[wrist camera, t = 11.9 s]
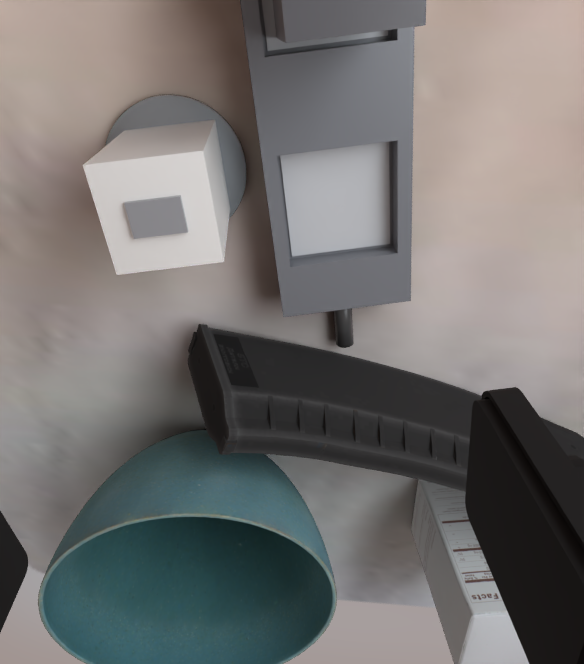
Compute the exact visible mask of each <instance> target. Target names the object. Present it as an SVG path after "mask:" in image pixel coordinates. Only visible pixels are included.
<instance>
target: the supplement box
mask: <svg viewBox="0 0 584 664" xmlns="http://www.w3.org/2000/svg"><path fill="white" fill-rule="evenodd" d="M465 494H466V492H464V491H460V490H457V489H453V488H450V487H446V486H442V485H439V484H435V483H431V482H428V481H424V480H420V479H418V485H417V492H416V499H415V506H414V513H413V520H412V527H411V531H412V534H413V537H414V540H415V544H416V547H417V550H418V553H419V556H420V559H421V562H422V565H423V568H424V572H425V575H426V578H427V581H428V584H429V587H430V590H431V593H432V596H433V600H434V603H435V606H436V609H437V612H438V615H439V618H440V621H441V624H442V627H443V631H444V634H445V637H446V640H447V643H448V646H449V649H450V652H451V655H452V658H453V661H454V664H529V662H528V659H527V657H526V655H525V652H524V650H523V648H522V645H521V643H520V640H519V638H518V636H517V633H516V631H515V628H514V626H513V624H512V621H511V619H510V617H509V614H508V612H507V609H506V607H505V605H504V602H503V600H502V597H501V595H500V593H499V590H498V588H497V586H496V583H495V581H494V578H493V576H492V574H491V571H490V569H489V566H488V564H487V562H486V559H485V557H484V555H483V552H482V550H481V547H480V545H479V543H478V540H477V538H476V535H475V533H474V531H473V528H472V526H471V524H470V521H469V518H468V515H467V511H466V506H465Z"/></svg>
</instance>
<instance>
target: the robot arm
mask: <svg viewBox="0 0 584 664" xmlns="http://www.w3.org/2000/svg"><path fill="white" fill-rule="evenodd" d="M465 506H466V511H467V515H468V518H469V521H470V524H471V526H472V528H473V531H474V533H475V535H476V538H477V540H478V543H479V545H480V547H481V550H482V552H483V555H484V557H485V559H486V562H487V564H488V566H489V569H490V571H491V574H492V576H493V578H494V581H495V583H496V586H497V588H498V590H499V593H500V595H501V597H502V600H503V602H504V605H505V607H506V609H507V612H508V614H509V617H510V619H511V621H512V624H513V626H514V628H515V631H516V633H517V636H518V638H519V640H520V643H521V645H522V648H523V650H524V652H525V655H526V657H527V659H528V662H529V664H584V460H583V459H582V458H580V457H578V456H576V455H568V456H567V455H566V453H565V452H564V450H563V449H562V448H561V446H560V445H559V443H558V442H557V441H556V439H555V438H554V436H553V435H552V434H551V432H550V431H549V429H548V428H547V427H546V425H545V424H544V422H543V421H542V420H541V418H540V417H539V415H538V414H537V413H536V411H535V410H534V408H533V407H532V406H531V404H530V403H529V401H528V400H527V399H526V397H525V396H524V394H523V393H522V392H521V391H520V390H519V389H518V388H516V387H514V388H506V389H498V390H490V391H485V392H483V394H482V398H481V400H475V401H474V402H473V406H472V417H471V430H470V443H469V456H468V468H467V481H466V494H465ZM27 567H28V557H27V554H26V552H25V550H24V548H23V547H22V545H21V544H20V542H19V540H18V539H17V537H16V536H15V534H14V532H13V531H12V529H11V527H10V526H9V524H8V523H7V521H6V519H5V518H4V516H3V514H2V513H1V511H0V632H1V630H2V627H3V625H4V623H5V620H6V618H7V616H8V613H9V611H10V609H11V607H12V604H13V602H14V600H15V598H16V595H17V593H18V591H19V588H20V586H21V584H22V582H23V579H24V577H25V574H26V572H27Z"/></svg>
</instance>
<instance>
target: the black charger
mask: <svg viewBox="0 0 584 664" xmlns="http://www.w3.org/2000/svg"><path fill="white" fill-rule="evenodd" d="M272 1H273V10H274V19H275V28H276V37H277V39H279V40H281V41H283V42H285V43H291V42H299V41H307V40H315V39H322V38H330V37H338V36H346V35H353V34H361V33H369V32H377V31H384V30H392V29H400V28H408V27H415V26H423V25H426V0H272Z"/></svg>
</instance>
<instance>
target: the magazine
mask: <svg viewBox="0 0 584 664" xmlns="http://www.w3.org/2000/svg"><path fill="white" fill-rule="evenodd" d="M189 354H190V355H189V358H188V365H189V369H190V372H191V376H192V380H193V383H194V387H195V390H196V394H197V397H198V401H199V404H200V408H201V412H202V415H203V419H204V422H205V426H206V429H207V433H208V435H209V437H210V438H212V439H213V440H214V441H215V442H216V445H217V448H218V451H219V454H221V455H230V454H231V453H261V454H275V455H287V456H297V457H304V458H312V459H319V460H324V461H329V462H334V463H339V464H344V465H350V466H355V467H361V468H366V469H372V470H377V471H383V472H388V473H393V474H398V475H403V476H407V477H411V478H415V479H420V480H424V481H428V482H431V483H435V484H439V485H442V486H446V487H450V488H453V489H457V490H460V491H464V492H466V481H467V468H468V456H469V443H470V430H471V417H472V406H473V402H474V401H475V400H481V398H482V396H480V395H477V394H475V393H472V392H469V391H466V390H464V389H461V388H458V387H455V386H452V385H449V384H446V383H443V382H440V381H437V380H434V379H431V378H427V377H424V376H421V375H417V374H414V373H411V372H407V371H404V370H400V369H396V368H393V367H389V366H386V365H382V364H378V363H374V362H370V361H366V360H363V359H359V358H355V357H350V356H346V355H342V354H337V353H333V352H329V351H324V350H319V349H315V348H310V347H306V346H301V345H296V344H290V343H285V342H280V341H275V340H270V339H264V338H259V337H254V336H249V335H244V334H239V333H233V332H228V331H223V330H218V329H213V328H208V326H207V325H202V324H199V325H198V329H197V332H194V334H193V337H192V340H191V344H190V347H189ZM541 420H542V421H543V422H544V424H545V425H546V427H547V428H548V429H549V431H550V432H551V434H552V435H553V436H554V438H555V439H556V441H557V442H558V443H559V445H560V446H561V448H562V449H563V450H564V452H565V453H566V455H567V456H568V455H576V456H578V457H580V458H582V459H583V460H584V438H583V437H582V436H580V435H579V434H577V433H576V432H573V431H571V430H569V429H566V428H564V427H561V426H559V425H557V424H554V423H552V422H550V421H547V420H545V419H542V418H541Z"/></svg>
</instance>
